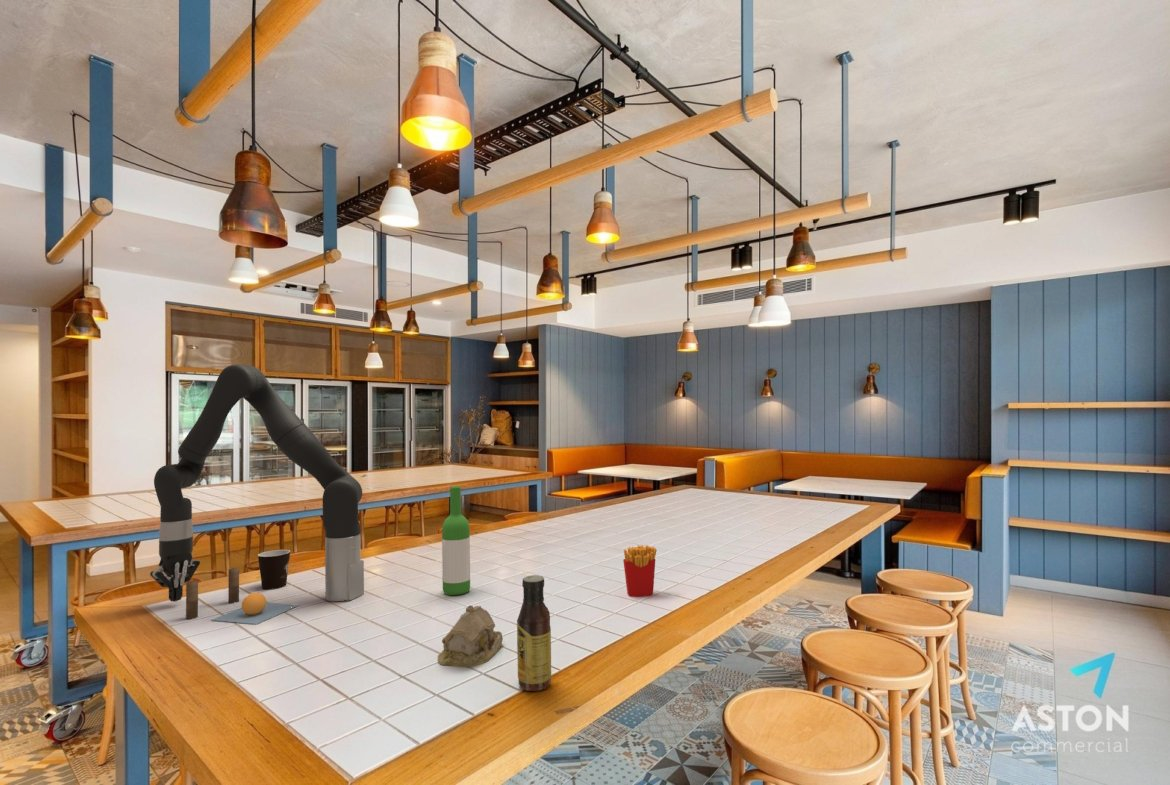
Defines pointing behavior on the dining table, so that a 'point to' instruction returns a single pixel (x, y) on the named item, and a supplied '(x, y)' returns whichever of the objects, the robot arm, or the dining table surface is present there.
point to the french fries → (639, 570)
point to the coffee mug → (274, 568)
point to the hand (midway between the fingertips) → (175, 600)
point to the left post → (191, 599)
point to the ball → (253, 603)
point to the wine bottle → (455, 548)
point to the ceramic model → (471, 639)
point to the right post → (233, 585)
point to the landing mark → (265, 614)
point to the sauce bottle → (534, 637)
